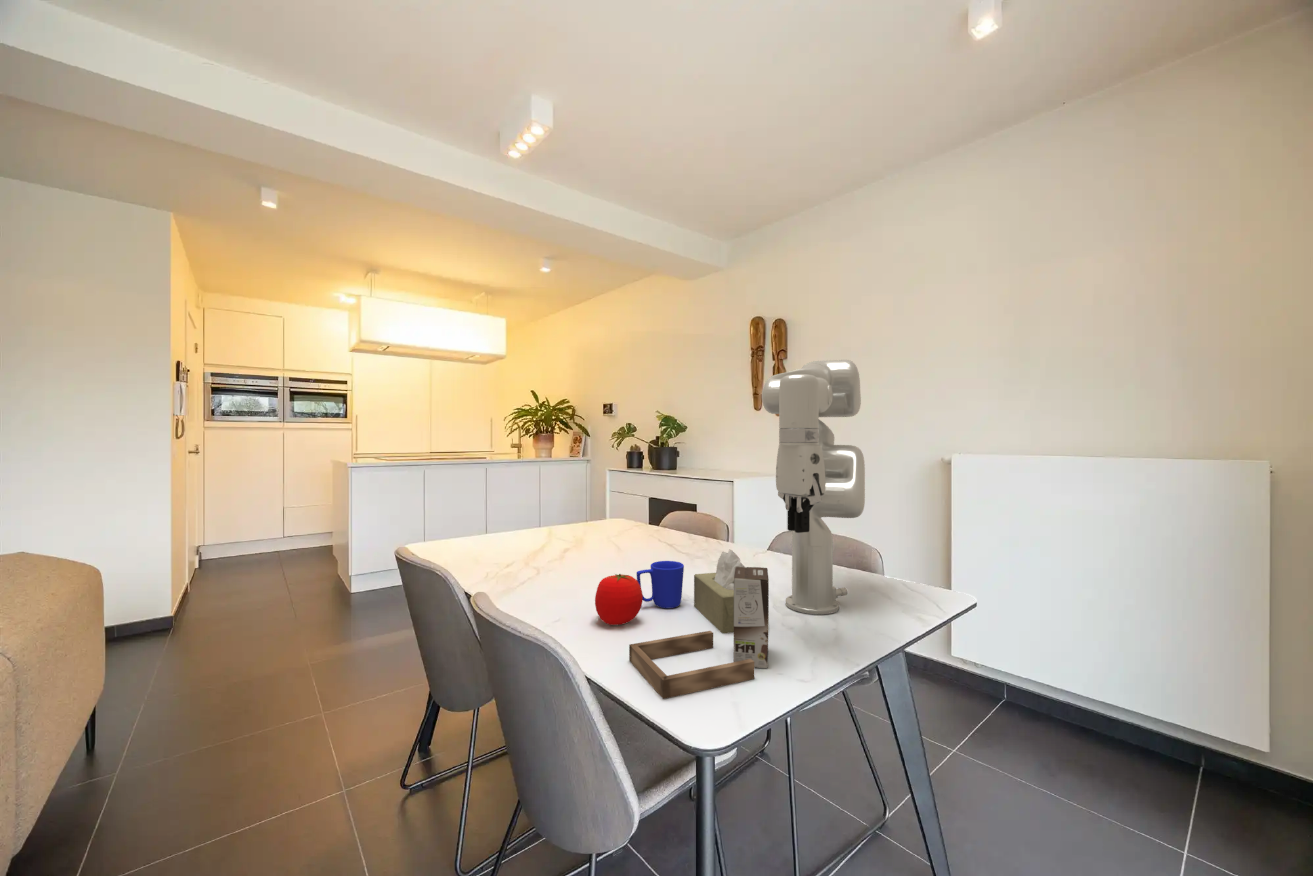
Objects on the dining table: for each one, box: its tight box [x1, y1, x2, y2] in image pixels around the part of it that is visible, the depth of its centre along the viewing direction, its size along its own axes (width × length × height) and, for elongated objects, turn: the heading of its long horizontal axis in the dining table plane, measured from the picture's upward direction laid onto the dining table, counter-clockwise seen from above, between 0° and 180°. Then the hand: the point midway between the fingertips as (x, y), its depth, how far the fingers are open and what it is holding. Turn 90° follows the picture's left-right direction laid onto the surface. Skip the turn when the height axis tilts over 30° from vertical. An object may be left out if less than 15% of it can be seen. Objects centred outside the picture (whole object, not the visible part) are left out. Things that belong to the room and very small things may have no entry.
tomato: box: [594, 573, 644, 626], centre depth 117 cm, size 10×11×11 cm
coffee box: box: [732, 566, 770, 669], centre depth 99 cm, size 9×6×16 cm
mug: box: [636, 560, 685, 609], centre depth 128 cm, size 8×12×10 cm
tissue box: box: [693, 549, 746, 634], centre depth 120 cm, size 19×10×16 cm, turn 15°
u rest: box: [628, 630, 755, 700], centre depth 94 cm, size 17×15×3 cm
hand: (798, 530), depth 103 cm, fingers closed
